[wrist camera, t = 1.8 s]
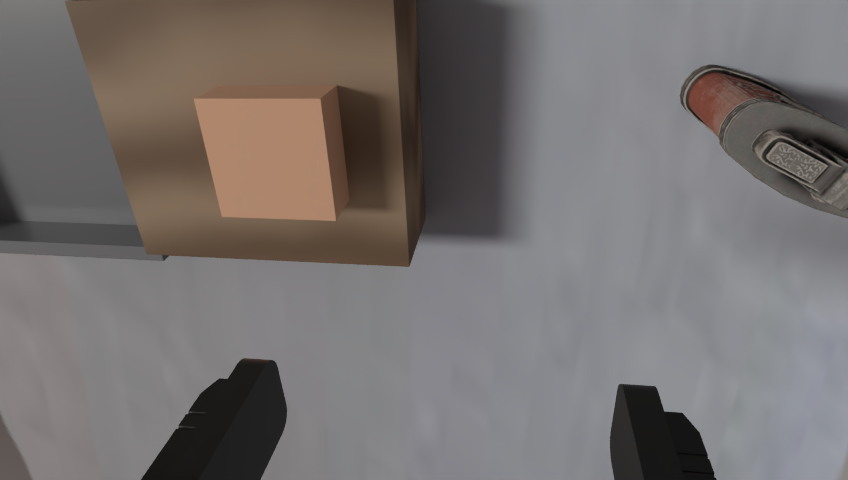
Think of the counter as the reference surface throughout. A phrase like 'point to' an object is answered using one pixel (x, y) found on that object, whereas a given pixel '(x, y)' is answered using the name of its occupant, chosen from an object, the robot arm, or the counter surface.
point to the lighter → (772, 136)
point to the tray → (56, 145)
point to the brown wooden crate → (259, 65)
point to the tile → (275, 150)
